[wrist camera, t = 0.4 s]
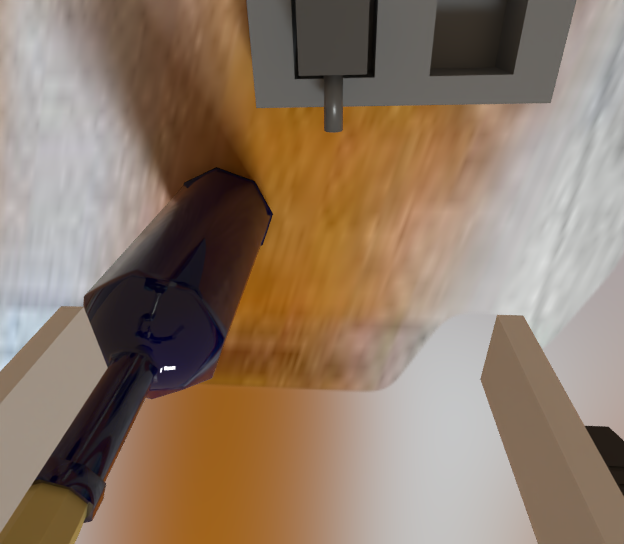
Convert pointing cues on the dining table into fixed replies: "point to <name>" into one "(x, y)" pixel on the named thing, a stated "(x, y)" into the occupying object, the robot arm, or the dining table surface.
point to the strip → (405, 52)
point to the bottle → (149, 339)
